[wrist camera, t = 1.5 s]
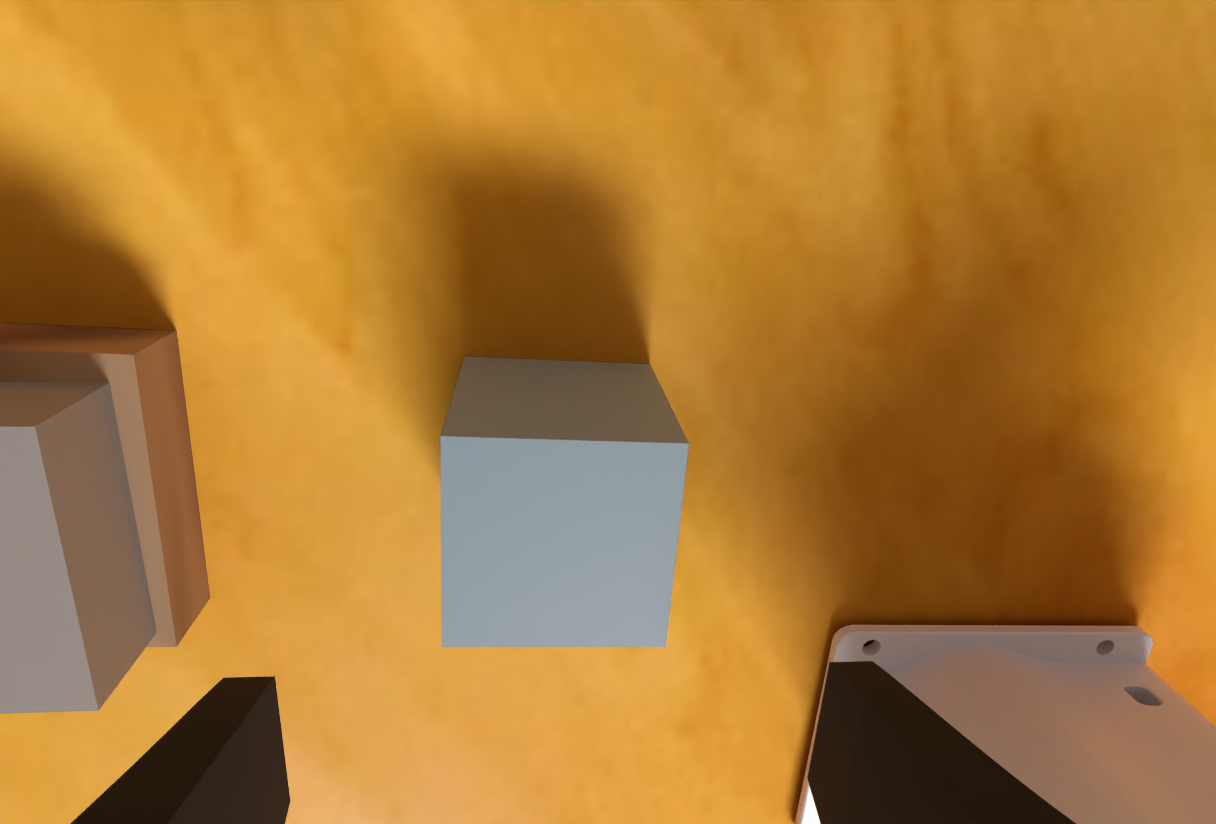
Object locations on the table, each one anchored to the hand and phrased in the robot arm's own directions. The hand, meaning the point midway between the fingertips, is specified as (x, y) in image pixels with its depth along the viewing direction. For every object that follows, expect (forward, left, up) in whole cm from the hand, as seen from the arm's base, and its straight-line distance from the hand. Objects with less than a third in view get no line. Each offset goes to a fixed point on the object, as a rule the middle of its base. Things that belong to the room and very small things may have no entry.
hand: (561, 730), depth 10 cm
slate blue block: (0, 0, -10) cm, 10 cm away
